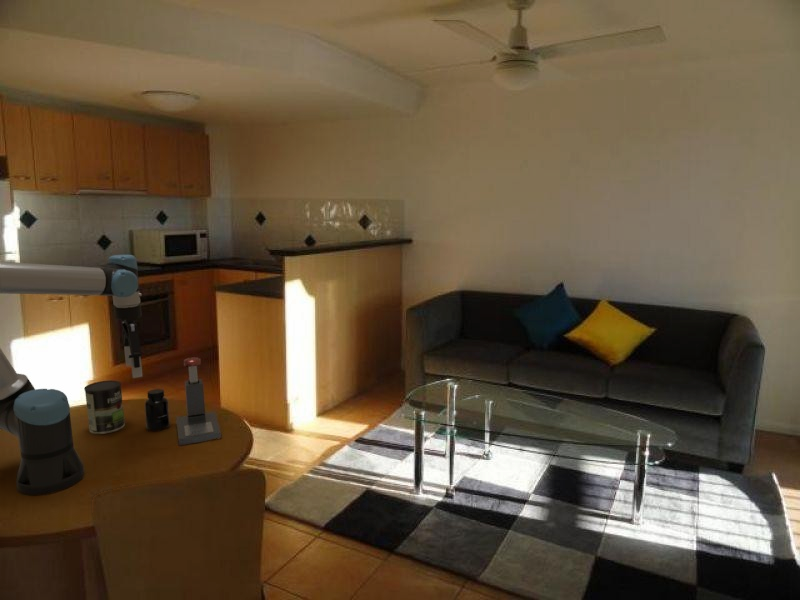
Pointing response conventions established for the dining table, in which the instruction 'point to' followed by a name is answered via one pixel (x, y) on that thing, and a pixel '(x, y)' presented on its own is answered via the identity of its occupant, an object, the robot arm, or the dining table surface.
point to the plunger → (192, 368)
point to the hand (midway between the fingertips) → (134, 371)
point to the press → (196, 418)
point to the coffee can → (104, 407)
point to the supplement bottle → (156, 410)
